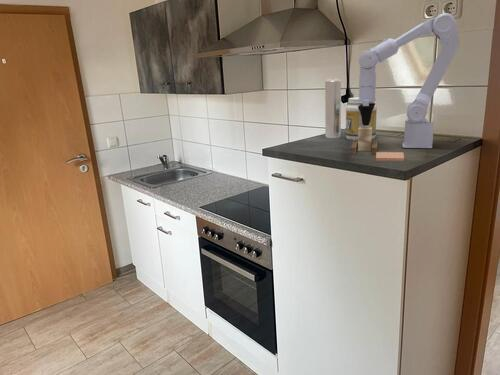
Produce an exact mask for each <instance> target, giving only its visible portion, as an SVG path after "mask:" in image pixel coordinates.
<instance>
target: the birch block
mask: <svg viewBox="0 0 500 375" xmlns="http://www.w3.org/2000/svg"><path fill="white" fill-rule="evenodd" d="M372 140H373V139H372V127H359V129H358V149H357V151H358V152H359V151H360V152H372V144H373V141H372Z"/></svg>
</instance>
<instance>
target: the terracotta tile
mask: <svg viewBox="0 0 500 375" xmlns="http://www.w3.org/2000/svg"><path fill="white" fill-rule="evenodd" d="M377 161H378V162H380V161H381V162H404V161H405V155H404V152H403V151H402V152H400V151H398V152H397V151H395V152H394V151H393V152H392V151H390V152H389V151H388V152H387V151H377V153H376V155H375V162H377Z"/></svg>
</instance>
